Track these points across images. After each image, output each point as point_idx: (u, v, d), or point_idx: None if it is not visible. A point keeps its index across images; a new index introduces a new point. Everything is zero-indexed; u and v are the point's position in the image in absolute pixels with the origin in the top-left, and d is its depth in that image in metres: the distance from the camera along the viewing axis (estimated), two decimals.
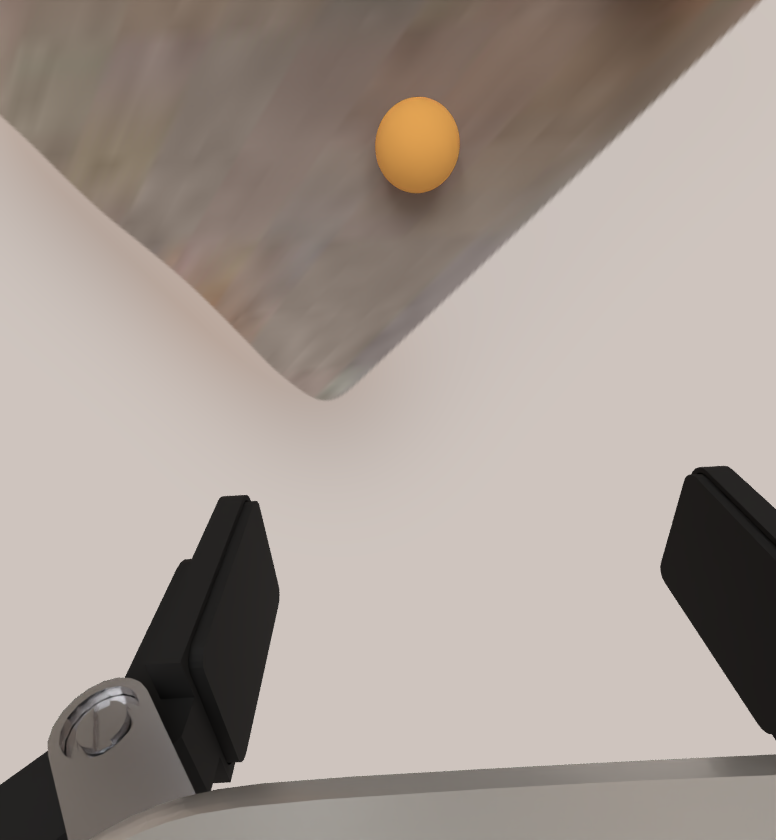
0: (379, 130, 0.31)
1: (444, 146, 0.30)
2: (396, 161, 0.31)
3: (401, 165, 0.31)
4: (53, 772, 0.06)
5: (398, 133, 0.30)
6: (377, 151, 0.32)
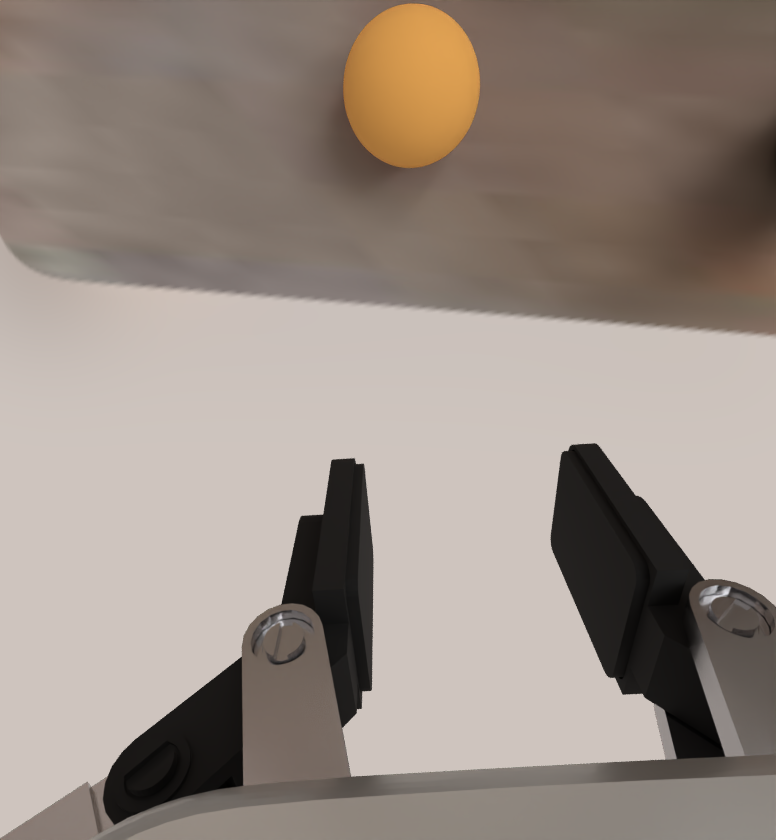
0: (389, 9, 0.18)
1: (440, 121, 0.19)
2: (372, 66, 0.18)
3: (373, 79, 0.18)
4: (255, 674, 0.07)
5: (407, 34, 0.17)
6: (363, 31, 0.18)
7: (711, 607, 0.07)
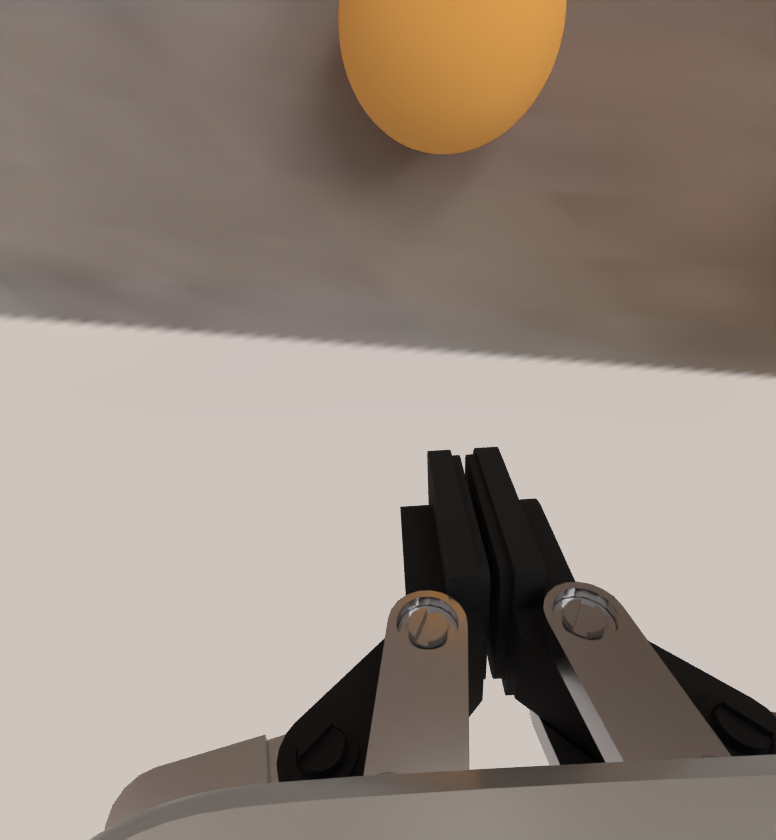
0: None
1: (503, 74, 0.11)
2: None
3: None
4: (411, 658, 0.07)
5: None
6: None
7: (564, 616, 0.07)
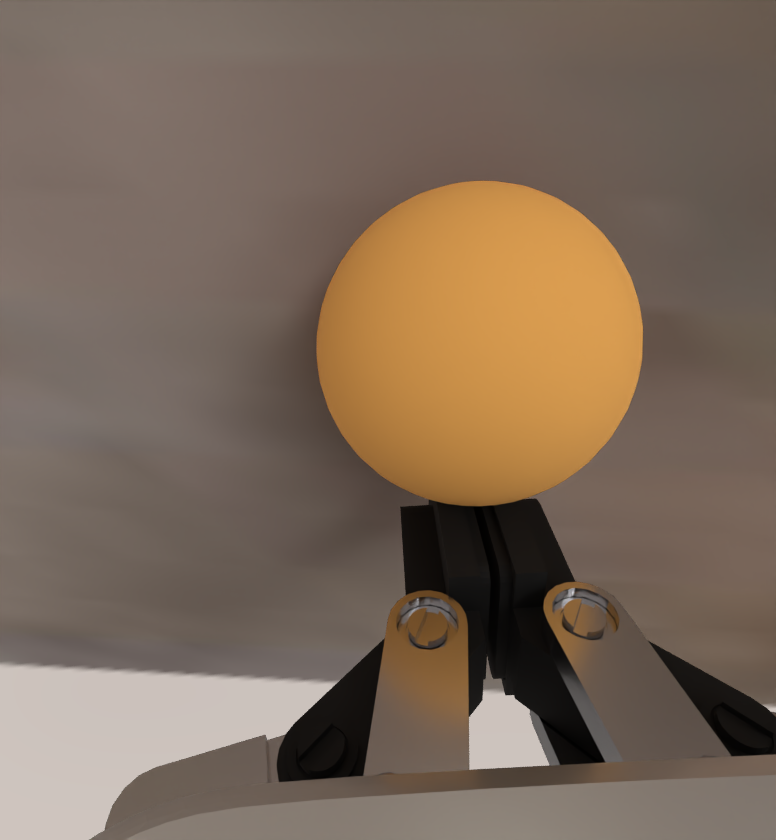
0: None
1: (553, 246, 0.06)
2: None
3: (376, 222, 0.08)
4: (411, 658, 0.07)
5: None
6: None
7: (564, 616, 0.07)
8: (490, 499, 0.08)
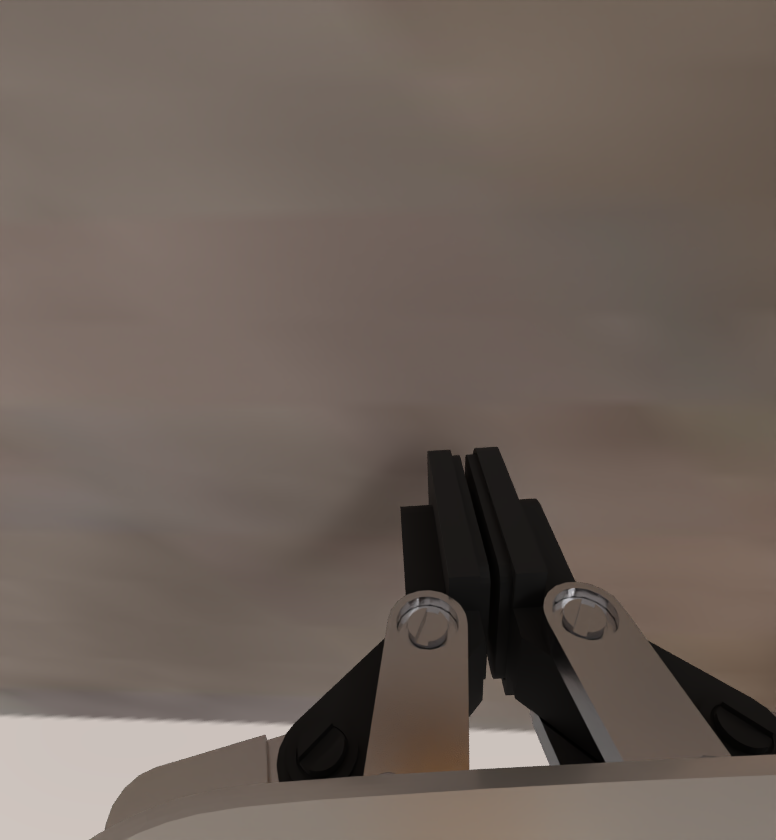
0: None
1: None
2: None
3: None
4: (411, 658, 0.07)
5: None
6: None
7: (564, 616, 0.07)
8: None
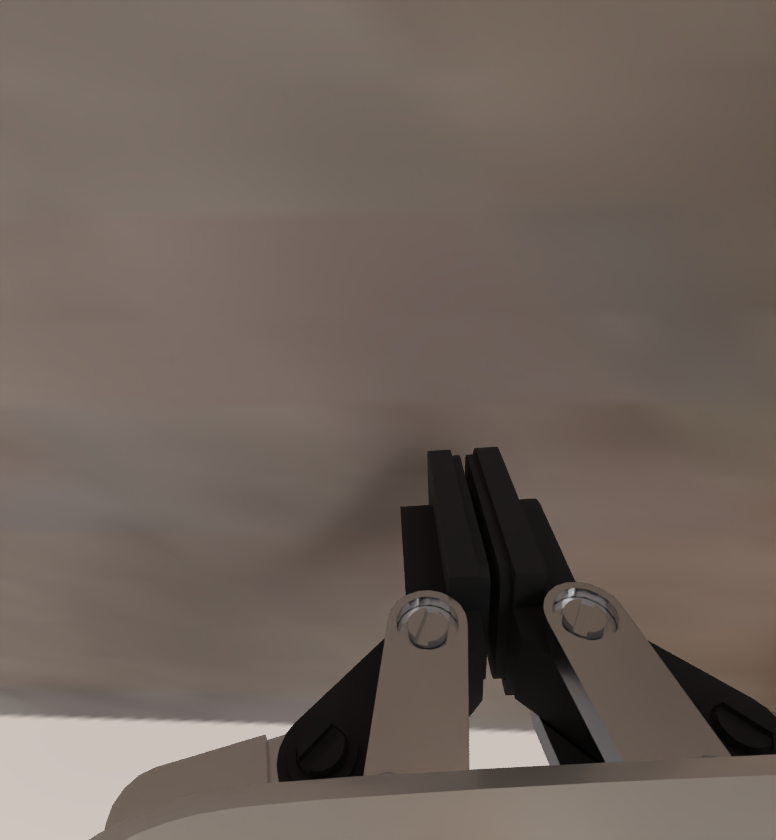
0: None
1: None
2: None
3: None
4: (411, 658, 0.07)
5: None
6: None
7: (564, 616, 0.07)
8: None
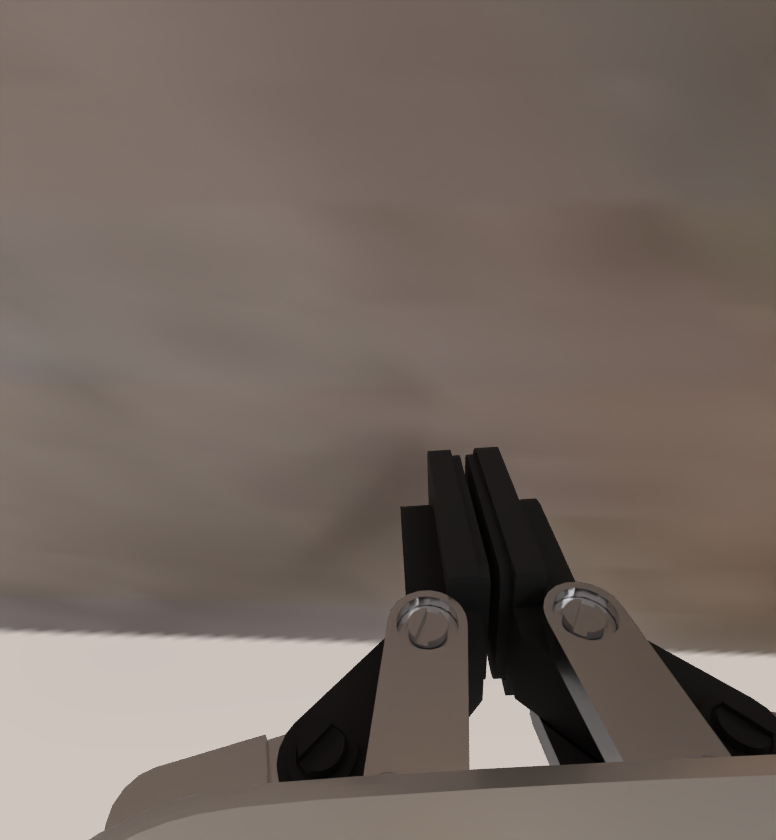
0: None
1: None
2: None
3: None
4: (411, 658, 0.07)
5: None
6: None
7: (564, 616, 0.07)
8: None
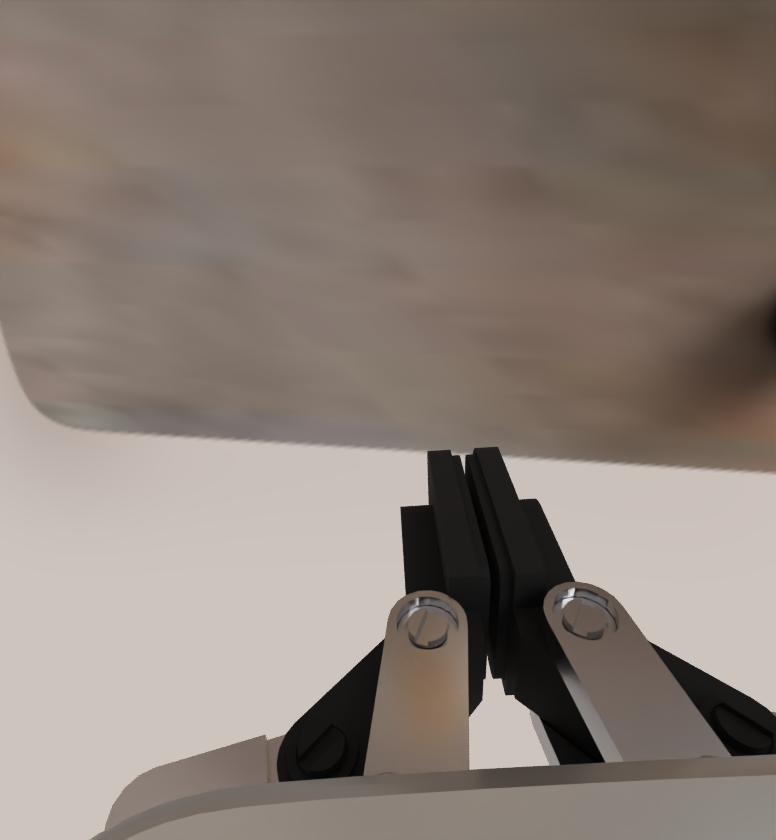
0: None
1: None
2: None
3: None
4: (411, 658, 0.07)
5: None
6: None
7: (564, 616, 0.07)
8: None
